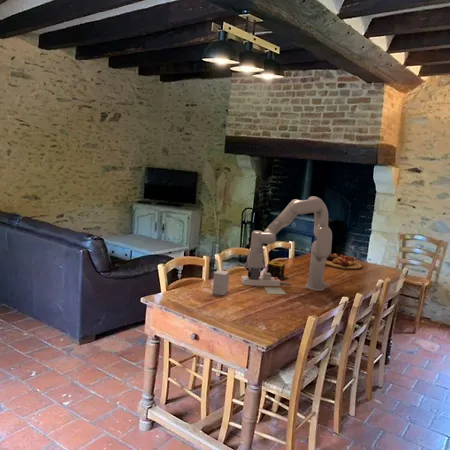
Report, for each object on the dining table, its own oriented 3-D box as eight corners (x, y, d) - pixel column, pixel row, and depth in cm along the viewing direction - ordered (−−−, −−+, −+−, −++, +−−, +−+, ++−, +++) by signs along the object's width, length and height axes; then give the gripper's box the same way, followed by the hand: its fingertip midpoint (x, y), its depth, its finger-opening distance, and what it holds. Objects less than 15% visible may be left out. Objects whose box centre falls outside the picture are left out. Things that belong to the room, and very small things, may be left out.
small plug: (268, 280, 274) (269, 272, 273) (270, 282, 270) (271, 274, 269) (262, 279, 273) (263, 272, 272) (264, 281, 269) (265, 274, 269)
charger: (256, 279, 273) (257, 266, 272) (258, 281, 268) (259, 268, 267) (248, 279, 272) (250, 266, 271) (250, 281, 267) (251, 268, 266)
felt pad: (281, 288, 265) (281, 287, 265) (285, 294, 254) (286, 293, 254) (264, 288, 263) (264, 287, 263) (268, 293, 252) (268, 293, 252)
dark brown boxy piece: (265, 277, 286) (267, 263, 285) (269, 274, 296) (271, 260, 294) (280, 280, 283) (281, 266, 281) (283, 276, 292) (285, 263, 290)
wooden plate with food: (360, 273, 320) (361, 262, 319) (318, 265, 331) (319, 255, 330) (362, 264, 350) (364, 255, 348) (324, 258, 361) (325, 248, 359)
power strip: (288, 282, 278) (289, 276, 278) (291, 286, 271) (292, 280, 270) (241, 281, 273) (241, 274, 273) (243, 285, 266) (243, 278, 265)
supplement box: (227, 292, 250) (229, 271, 248) (223, 295, 243) (225, 274, 241) (216, 289, 252) (218, 269, 250) (211, 293, 245) (213, 272, 243)
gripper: (267, 249, 272) (265, 276, 275) (242, 248, 269) (239, 275, 272) (270, 252, 264) (267, 279, 268) (244, 250, 262) (241, 278, 265)
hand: (253, 277), depth 270 cm, fingers closed on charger, 5 cm apart
